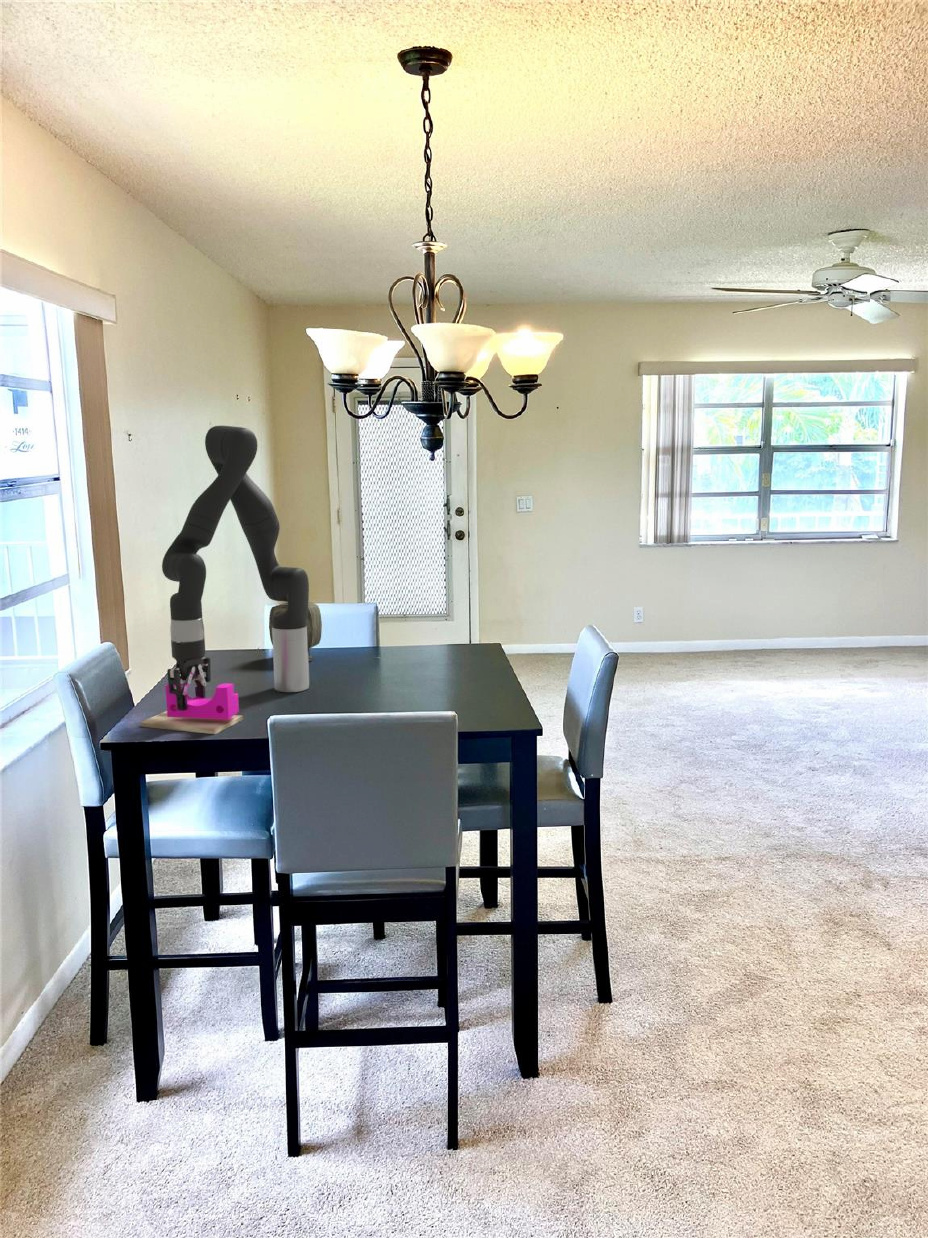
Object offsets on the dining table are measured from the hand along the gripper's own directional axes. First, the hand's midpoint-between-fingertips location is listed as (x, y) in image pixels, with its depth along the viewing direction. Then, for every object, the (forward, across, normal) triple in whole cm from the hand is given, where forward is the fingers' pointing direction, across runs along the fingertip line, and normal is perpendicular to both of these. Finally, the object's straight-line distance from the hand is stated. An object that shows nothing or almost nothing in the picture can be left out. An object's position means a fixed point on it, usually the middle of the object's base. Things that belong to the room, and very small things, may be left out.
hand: (191, 705), depth 209 cm
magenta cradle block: (+2, 0, +3) cm, 4 cm away
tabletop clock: (+5, -70, -9) cm, 71 cm away
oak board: (+4, 0, 0) cm, 4 cm away
